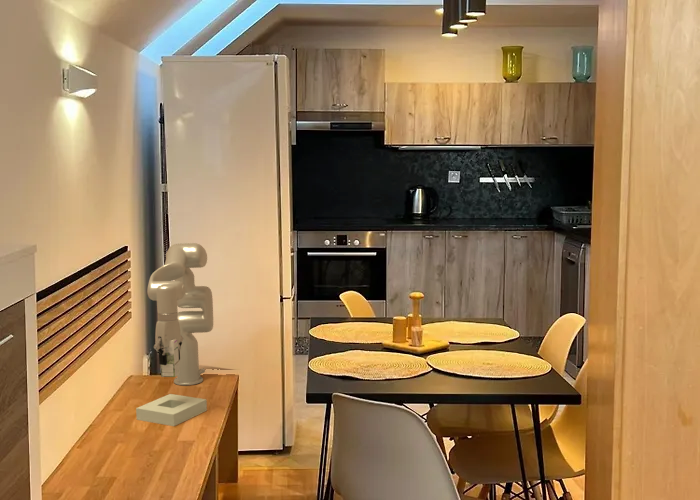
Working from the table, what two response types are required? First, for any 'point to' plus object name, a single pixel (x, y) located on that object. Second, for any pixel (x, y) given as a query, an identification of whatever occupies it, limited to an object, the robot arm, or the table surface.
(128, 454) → the table surface
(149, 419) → the socket holder
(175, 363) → the syrup box
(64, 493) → the table surface
